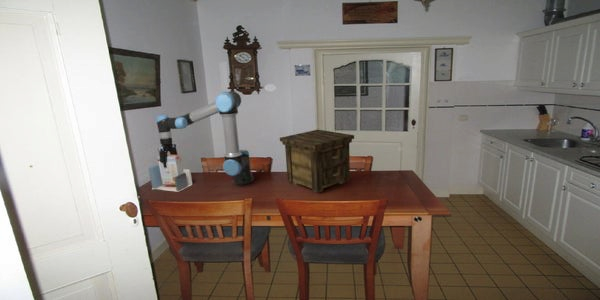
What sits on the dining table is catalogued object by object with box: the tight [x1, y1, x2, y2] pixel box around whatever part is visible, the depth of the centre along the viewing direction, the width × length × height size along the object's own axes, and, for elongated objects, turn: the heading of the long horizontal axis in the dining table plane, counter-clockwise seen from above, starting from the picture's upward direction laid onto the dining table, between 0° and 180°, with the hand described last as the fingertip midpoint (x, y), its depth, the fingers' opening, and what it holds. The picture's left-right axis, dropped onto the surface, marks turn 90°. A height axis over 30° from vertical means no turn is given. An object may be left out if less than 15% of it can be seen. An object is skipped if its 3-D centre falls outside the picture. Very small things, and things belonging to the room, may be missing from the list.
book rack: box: [148, 163, 193, 192], centre depth 214 cm, size 24×14×16 cm, turn 67°
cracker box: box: [157, 154, 183, 185], centre depth 213 cm, size 14×6×21 cm, turn 76°
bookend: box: [175, 173, 189, 192], centre depth 209 cm, size 2×9×10 cm, turn 157°
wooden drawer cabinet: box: [279, 129, 355, 194], centre depth 206 cm, size 35×35×33 cm
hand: (171, 169), depth 213 cm, fingers closed on cracker box, 6 cm apart
